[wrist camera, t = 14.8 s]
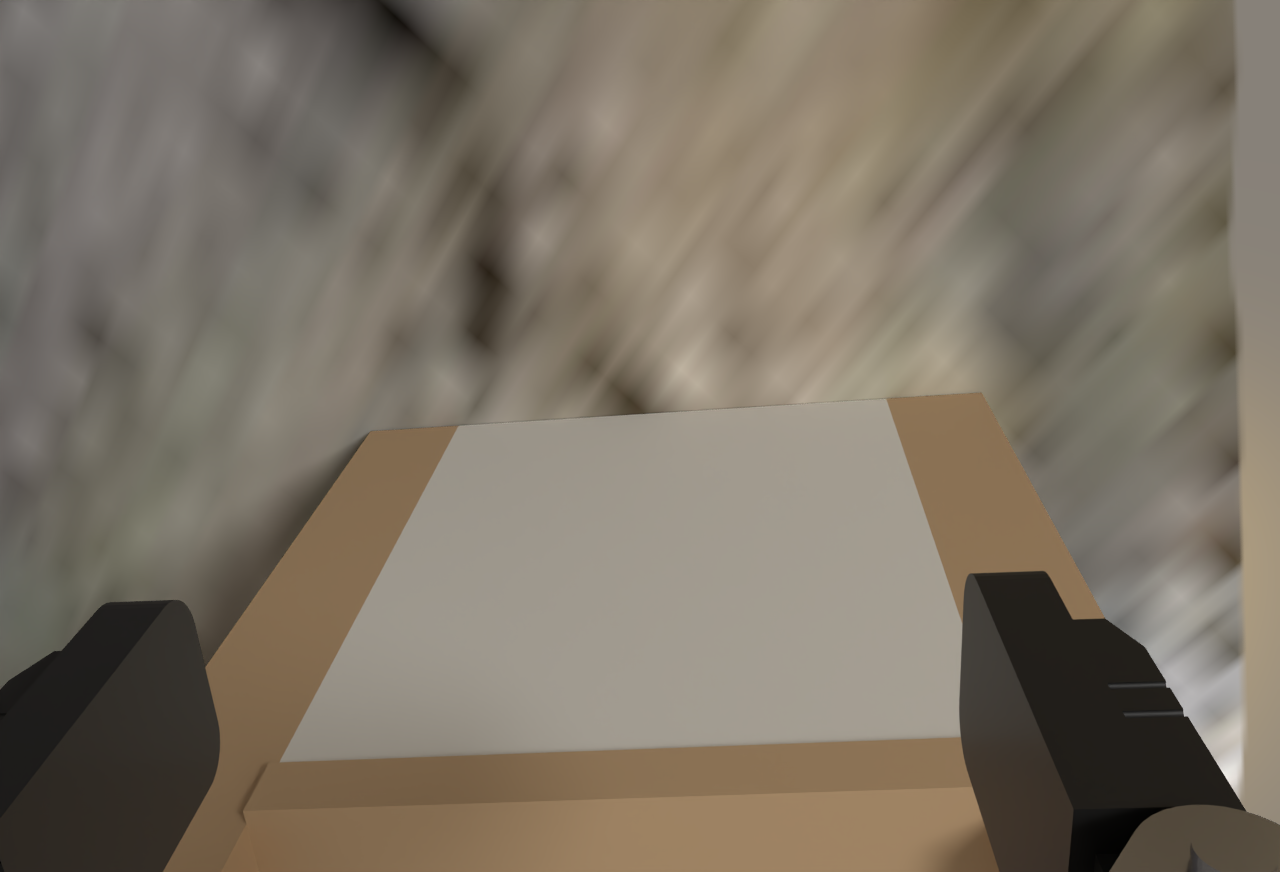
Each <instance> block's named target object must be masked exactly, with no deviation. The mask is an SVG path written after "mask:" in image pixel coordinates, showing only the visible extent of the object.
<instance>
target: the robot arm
mask: <svg viewBox="0 0 1280 872" xmlns="http://www.w3.org/2000/svg"><path fill="white" fill-rule="evenodd" d="M959 721H960V734H961V743H962V749H963V755H964V760H965V765H966V768H967V772H968V775H969V778H970V781H971V784H972V787H973V791H974V794H975V797H976V800H977V803H978V806H979V809H980V813H981V816H982V819H983V822H984V825H985V828H986V831H987V835H988V838H989V841H990V844H991V847H992V850H993V853H994V856H995V860H996V863H997V866H998V869H999V872H1280V825H1279V824H1277V823H1275V822H1273V821H1270V820H1268V819H1266V818H1263V817H1261V816H1258V815H1255V814H1252V813H1249V812H1246V810H1245V808H1244V807H1243V805H1242V804H1241V802H1240V800H1239V799H1238V797H1237V795H1236V794H1235V792H1234V791H1233V789H1232V787H1231V786H1230V784H1229V783H1228V781H1227V779H1226V778H1225V776H1224V774H1223V773H1222V771H1221V770H1220V768H1219V766H1218V765H1217V763H1216V761H1215V760H1214V758H1213V757H1212V755H1211V753H1210V752H1209V750H1208V749H1207V747H1206V745H1205V744H1204V742H1203V740H1202V739H1201V737H1200V736H1199V734H1198V732H1197V731H1196V729H1195V728H1194V726H1193V724H1192V723H1191V721H1190V719H1189V718H1188V717H1184V714H1183V708H1182V707H1181V705H1180V703H1179V702H1178V700H1177V698H1176V697H1175V695H1174V694H1173V692H1172V690H1171V689H1170V688H1166V681H1165V679H1164V677H1163V676H1162V674H1161V673H1160V671H1159V669H1158V668H1157V666H1156V664H1155V663H1154V661H1153V660H1152V658H1151V656H1150V655H1149V653H1148V652H1147V650H1146V648H1145V647H1144V646H1143V645H1141V644H1140V643H1138V642H1137V641H1136V640H1134V639H1133V638H1131V637H1130V636H1129V635H1127V634H1126V633H1124V632H1123V631H1122V630H1120V629H1119V628H1117V627H1116V626H1115V625H1113V624H1112V623H1110V622H1109V621H1108V620H1106V619H1105V618H1103V619H1072V617H1071V615H1070V613H1069V612H1068V610H1067V608H1066V606H1065V604H1064V602H1063V600H1062V599H1061V597H1060V595H1059V593H1058V591H1057V589H1056V587H1055V586H1054V584H1053V582H1052V580H1051V578H1050V577H1049V575H1048V574H1047V573H1046V572H1045V571H1024V572H996V573H970V574H969V575H968V576H967V579H966V583H965V589H964V601H963V625H962V648H961V672H960V695H959ZM219 754H220V731H219V724H218V719H217V715H216V711H215V706H214V702H213V698H212V694H211V690H210V686H209V681H208V677H207V673H206V669H205V665H204V661H203V656H202V652H201V648H200V644H199V640H198V636H197V631H196V627H195V623H194V620H193V617H192V614H191V612H190V610H189V609H188V607H187V606H186V605H185V604H184V603H183V602H181V601H179V600H164V601H136V602H110V603H106V604H104V605H102V606H101V607H100V608H99V609H98V610H97V611H96V612H95V613H94V615H93V616H92V617H91V618H90V619H89V620H88V621H87V623H86V624H85V625H84V626H83V627H82V628H81V629H80V631H79V632H78V633H77V634H76V635H75V636H74V637H73V639H72V640H71V641H70V642H69V643H68V644H67V645H66V647H65V648H64V649H63V650H62V651H54V652H52V653H51V654H49V655H48V656H46V657H45V658H43V659H41V660H40V661H38V662H37V663H35V664H34V665H32V666H31V667H29V668H28V669H26V670H24V671H23V672H21V673H20V674H18V675H17V676H15V677H14V678H12V679H11V680H9V681H8V682H7V683H6V684H5V685H4V686H3V687H2V689H1V690H0V872H163V871H164V869H165V867H166V865H167V864H168V862H169V860H170V858H171V857H172V855H173V853H174V851H175V849H176V848H177V846H178V844H179V842H180V841H181V839H182V837H183V835H184V834H185V832H186V830H187V828H188V826H189V825H190V823H191V821H192V819H193V818H194V816H195V814H196V812H197V810H198V809H199V807H200V805H201V803H202V802H203V800H204V798H205V796H206V794H207V793H208V791H209V789H210V787H211V785H212V783H213V781H214V778H215V775H216V771H217V767H218V762H219Z"/></svg>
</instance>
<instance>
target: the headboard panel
mask: <svg viewBox="0 0 1280 872" xmlns="http://www.w3.org/2000/svg"><path fill="white" fill-rule="evenodd" d="M1024 571H1045V572H1046V573H1047V574H1048V575H1049V577H1050V578H1051V580H1052V582H1053V584H1054V586H1055V587H1056V589H1057V591H1058V593H1059V595H1060V597H1061V599H1062V600H1063V602H1064V604H1065V606H1066V608H1067V610H1068V612H1069V613H1070V615H1071V617H1072V619H1103V618H1105V617H1104V616H1103V614H1102V612H1101V610H1100V608H1099V606H1098V605H1097V603H1096V601H1095V599H1094V597H1093V595H1092V594H1091V592H1090V590H1089V588H1088V586H1087V585H1086V583H1085V581H1084V579H1083V577H1082V575H1081V574H1080V572H1079V570H1078V568H1077V566H1076V564H1075V563H1074V561H1073V559H1072V557H1071V555H1070V553H1069V552H1068V550H1067V548H1066V546H1065V544H1064V542H1063V541H1062V539H1061V537H1060V535H1059V533H1058V531H1057V530H1056V528H1055V526H1054V524H1053V522H1052V521H1051V519H1050V517H1049V515H1048V513H1047V511H1046V510H1045V508H1044V506H1043V504H1042V502H1041V500H1040V499H1039V497H1038V495H1037V493H1036V491H1035V489H1034V488H1033V486H1032V484H1031V482H1030V480H1029V478H1028V477H1027V475H1026V473H1025V471H1024V469H1023V467H1022V466H1021V464H1020V462H1019V460H1018V458H1017V456H1016V455H1015V453H1014V451H1013V449H1012V447H1011V446H1010V444H1009V442H1008V440H1007V438H1006V436H1005V435H1004V433H1003V431H1002V429H1001V427H1000V425H999V424H998V422H997V420H996V418H995V416H994V414H993V413H992V411H991V409H990V407H989V405H988V403H987V402H986V400H985V398H984V396H983V394H982V393H969V394H953V395H937V396H921V397H906V398H890V399H874V400H858V401H842V402H827V403H811V404H795V405H779V406H763V407H748V408H732V409H716V410H700V411H684V412H669V413H653V414H637V415H621V416H605V417H589V418H574V419H558V420H542V421H526V422H510V423H495V424H479V425H463V426H447V427H431V428H416V429H400V430H384V431H370V433H369V434H368V436H367V437H366V439H365V440H364V441H363V443H362V444H361V446H360V447H359V449H358V450H357V451H356V453H355V454H354V456H353V457H352V459H351V460H350V461H349V463H348V464H347V466H346V467H345V469H344V470H343V471H342V473H341V474H340V476H339V477H338V479H337V480H336V481H335V483H334V484H333V486H332V487H331V489H330V490H329V491H328V493H327V494H326V496H325V497H324V499H323V500H322V501H321V503H320V504H319V506H318V507H317V509H316V510H315V511H314V513H313V514H312V516H311V517H310V519H309V520H308V521H307V523H306V524H305V526H304V527H303V529H302V530H301V531H300V533H299V534H298V536H297V537H296V539H295V540H294V541H293V543H292V544H291V546H290V547H289V549H288V550H287V551H286V553H285V554H284V556H283V557H282V559H281V560H280V561H279V563H278V564H277V566H276V567H275V569H274V570H273V571H272V573H271V574H270V576H269V577H268V579H267V580H266V581H265V583H264V584H263V586H262V587H261V589H260V590H259V591H258V593H257V594H256V596H255V597H254V599H253V600H252V601H251V603H250V604H249V606H248V607H247V609H246V610H245V611H244V613H243V614H242V616H241V617H240V619H239V620H238V621H237V623H236V624H235V626H234V627H233V629H232V630H231V631H230V633H229V634H228V636H227V637H226V639H225V640H224V641H223V643H222V644H221V646H220V647H219V649H218V650H217V651H216V653H215V654H214V656H213V657H212V659H211V660H210V661H209V663H208V664H207V666H206V667H205V669H206V673H207V677H208V681H209V686H210V690H211V694H212V698H213V702H214V706H215V711H216V715H217V719H218V724H219V731H220V754H219V762H218V767H217V771H216V775H215V778H214V781H213V783H212V785H211V787H210V789H209V791H208V793H207V794H206V796H205V798H204V800H203V802H202V803H201V805H200V807H199V809H198V810H197V812H196V814H195V816H194V818H193V819H192V821H191V823H190V825H189V826H188V828H187V830H186V832H185V834H184V835H183V837H182V839H181V841H180V842H179V844H178V846H177V848H176V849H175V851H174V853H173V855H172V857H171V858H170V860H169V862H168V864H167V865H166V867H165V869H164V871H163V872H999V869H998V866H997V863H996V860H995V856H994V853H993V850H992V847H991V844H990V841H989V838H988V835H987V831H986V828H985V825H984V822H983V819H982V816H981V813H980V809H979V806H978V803H977V800H976V797H975V794H974V791H973V787H972V784H971V781H970V778H969V775H968V772H967V768H966V765H965V760H964V755H963V749H962V743H961V734H960V721H959V695H960V672H961V648H962V625H963V601H964V589H965V583H966V579H967V576H968V575H969V574H970V573H996V572H1024Z"/></svg>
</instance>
